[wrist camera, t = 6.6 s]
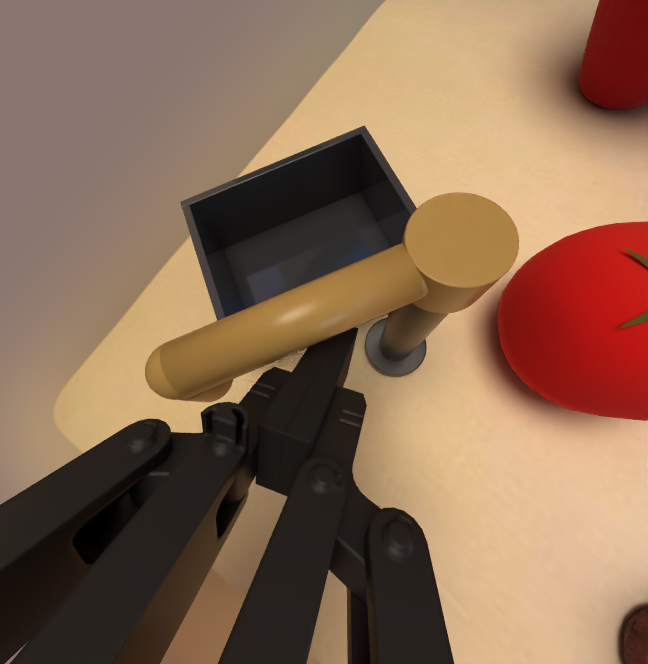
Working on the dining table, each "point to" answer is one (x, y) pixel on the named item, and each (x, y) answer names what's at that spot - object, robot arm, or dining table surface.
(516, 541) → the dining table surface
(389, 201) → the sink
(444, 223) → the faucet spout
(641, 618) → the can
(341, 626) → the dining table surface
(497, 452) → the dining table surface
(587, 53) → the vase
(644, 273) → the tomato
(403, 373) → the faucet base
